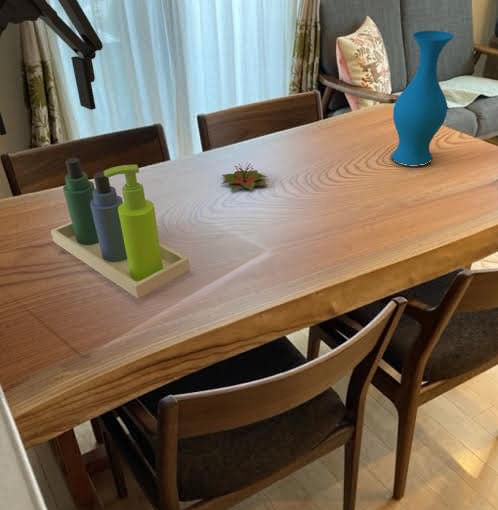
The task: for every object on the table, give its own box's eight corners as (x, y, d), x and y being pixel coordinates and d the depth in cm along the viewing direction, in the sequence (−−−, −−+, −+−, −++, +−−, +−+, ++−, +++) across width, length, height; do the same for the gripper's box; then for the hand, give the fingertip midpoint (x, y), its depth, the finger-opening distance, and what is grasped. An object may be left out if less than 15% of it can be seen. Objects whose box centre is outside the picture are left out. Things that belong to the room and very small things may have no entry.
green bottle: (71, 238, 107) (50, 161, 97) (95, 227, 110) (77, 151, 100) (86, 248, 104) (66, 169, 94) (110, 237, 107) (94, 159, 97)
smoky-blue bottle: (96, 254, 102) (77, 175, 92) (120, 243, 105) (105, 165, 95) (113, 265, 99) (95, 184, 89) (138, 253, 102) (123, 173, 92)
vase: (378, 163, 133) (395, 38, 115) (397, 146, 141) (416, 27, 123) (426, 174, 128) (451, 44, 110) (443, 155, 136) (469, 32, 118)
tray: (54, 244, 107) (50, 230, 105) (103, 222, 113) (100, 209, 111) (138, 301, 91) (135, 286, 90) (190, 272, 98) (188, 258, 96)
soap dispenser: (122, 268, 98) (101, 163, 86) (160, 261, 100) (144, 157, 87) (127, 285, 94) (105, 178, 81) (166, 278, 95) (150, 171, 83)
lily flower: (261, 169, 132) (261, 150, 129) (277, 189, 123) (277, 170, 120) (213, 176, 129) (212, 157, 126) (226, 197, 120) (225, 178, 118)
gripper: (-105, -64, 51) (-31, 152, 65) (111, -76, 65) (135, 103, 79) (-132, -68, 55) (-57, 136, 69) (77, -79, 69) (105, 92, 83)
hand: (45, 119), depth 74 cm, fingers open, 13 cm apart
